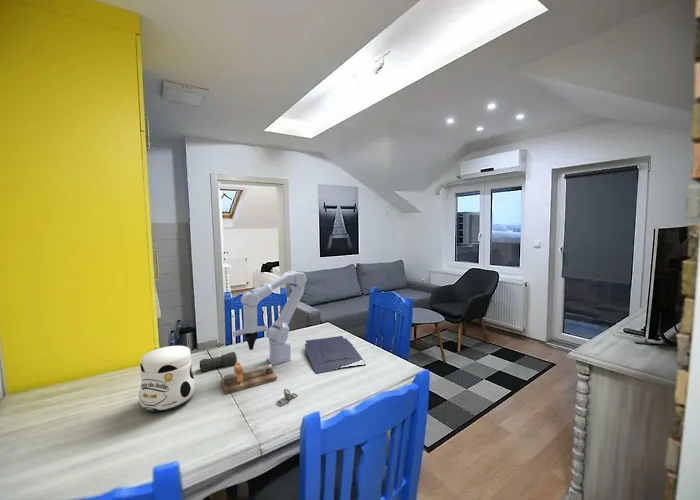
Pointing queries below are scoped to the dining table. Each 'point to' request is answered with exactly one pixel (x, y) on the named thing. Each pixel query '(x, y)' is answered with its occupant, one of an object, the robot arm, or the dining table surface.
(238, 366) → the collar
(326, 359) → the grey flat slab
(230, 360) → the flashlight
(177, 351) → the milk container
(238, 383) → the pipe stand
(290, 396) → the strap clip
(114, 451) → the dining table surface
